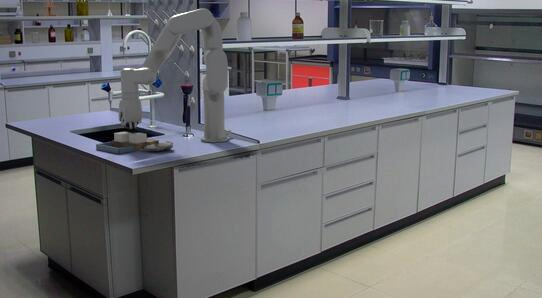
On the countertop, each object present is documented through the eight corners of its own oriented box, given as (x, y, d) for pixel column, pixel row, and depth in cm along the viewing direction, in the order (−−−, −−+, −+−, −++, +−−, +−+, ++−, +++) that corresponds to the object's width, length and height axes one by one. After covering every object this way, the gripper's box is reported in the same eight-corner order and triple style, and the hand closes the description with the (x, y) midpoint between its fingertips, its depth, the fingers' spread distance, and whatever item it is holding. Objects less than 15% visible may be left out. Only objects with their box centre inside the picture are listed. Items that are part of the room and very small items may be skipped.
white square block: (138, 140, 263) (138, 132, 262) (146, 141, 259) (146, 133, 259) (128, 142, 259) (128, 134, 258) (136, 143, 255) (136, 135, 255)
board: (137, 143, 273) (137, 136, 272) (159, 146, 264) (158, 140, 263) (112, 147, 262) (112, 140, 262) (133, 151, 253) (133, 144, 252)
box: (111, 147, 263) (111, 141, 262) (134, 151, 253) (134, 145, 252) (96, 149, 257) (96, 144, 256) (118, 154, 247) (118, 148, 246)
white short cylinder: (124, 139, 265) (124, 131, 265) (132, 140, 262) (132, 132, 261) (114, 140, 261) (114, 133, 260) (122, 142, 258) (121, 134, 257)
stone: (151, 153, 247) (151, 146, 246) (141, 151, 254) (141, 143, 253) (176, 149, 254) (176, 142, 254) (166, 147, 261) (165, 139, 261)
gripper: (138, 94, 270) (140, 134, 273) (110, 96, 258) (112, 138, 262) (149, 95, 265) (150, 135, 268) (121, 98, 254) (123, 140, 257)
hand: (131, 136), depth 265 cm, fingers closed
